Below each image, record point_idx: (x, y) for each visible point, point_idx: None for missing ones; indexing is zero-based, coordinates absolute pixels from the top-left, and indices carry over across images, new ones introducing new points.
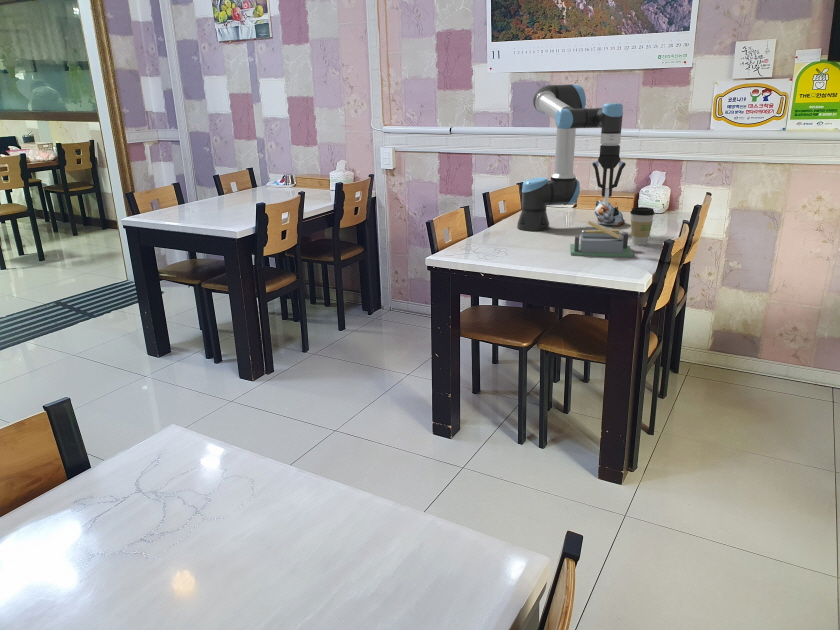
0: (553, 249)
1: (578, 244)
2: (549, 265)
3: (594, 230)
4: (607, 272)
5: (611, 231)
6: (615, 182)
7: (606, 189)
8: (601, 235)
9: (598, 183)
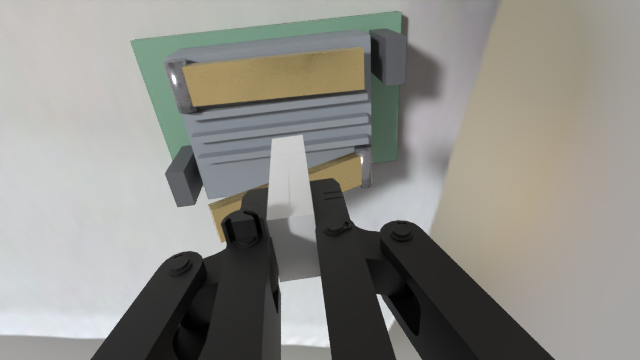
0: (85, 109)
1: (199, 189)
2: None
3: (235, 78)
4: (317, 306)
5: (327, 172)
6: (408, 329)
7: (292, 276)
8: (280, 132)
9: (182, 349)
